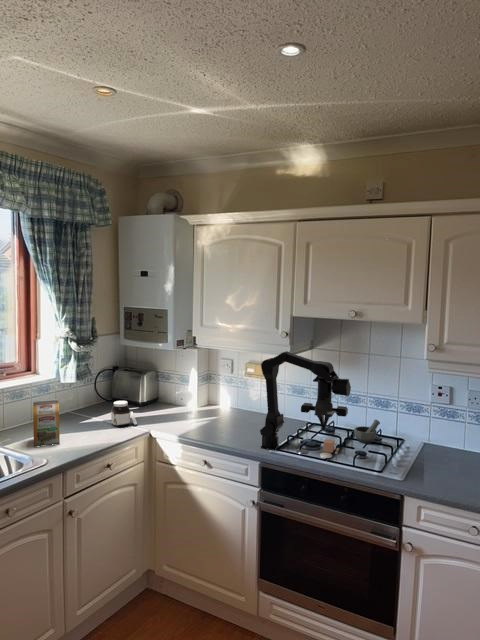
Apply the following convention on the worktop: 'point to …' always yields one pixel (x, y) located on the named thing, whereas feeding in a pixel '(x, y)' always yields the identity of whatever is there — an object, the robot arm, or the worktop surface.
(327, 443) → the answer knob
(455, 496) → the worktop surface
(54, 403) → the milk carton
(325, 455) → the ceramic puck
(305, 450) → the steel puck
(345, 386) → the robot arm
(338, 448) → the selector rail
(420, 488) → the worktop surface
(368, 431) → the mortar and pestle
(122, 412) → the spread jar
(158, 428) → the worktop surface
